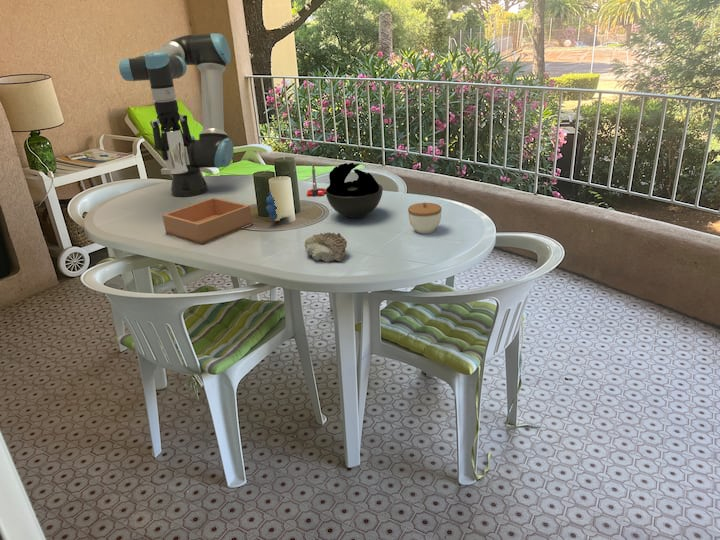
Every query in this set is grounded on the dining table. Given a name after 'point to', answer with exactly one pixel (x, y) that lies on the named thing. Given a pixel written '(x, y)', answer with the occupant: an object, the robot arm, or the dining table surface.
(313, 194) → the tow hook
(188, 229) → the open box
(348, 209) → the coal bowl
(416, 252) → the dining table surface
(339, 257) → the seashell
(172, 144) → the beer glass
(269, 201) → the grapes
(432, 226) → the lidded jar
